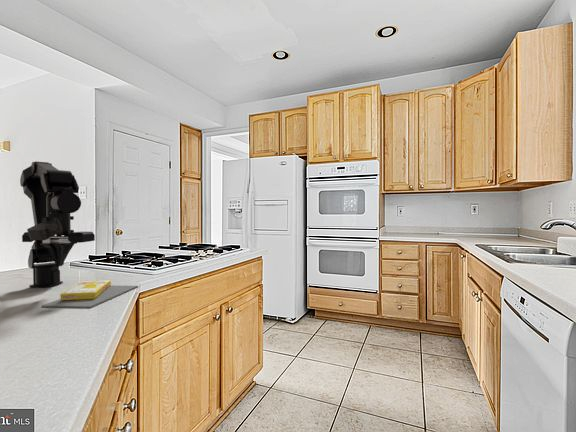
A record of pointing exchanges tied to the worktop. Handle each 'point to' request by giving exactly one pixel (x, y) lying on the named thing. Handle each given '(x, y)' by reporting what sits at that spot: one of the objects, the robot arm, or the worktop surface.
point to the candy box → (85, 290)
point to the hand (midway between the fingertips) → (59, 266)
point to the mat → (89, 303)
